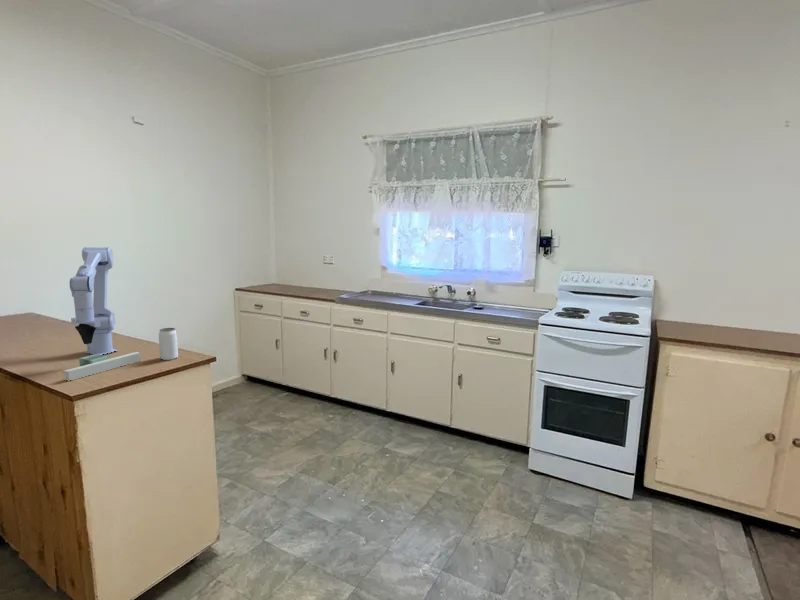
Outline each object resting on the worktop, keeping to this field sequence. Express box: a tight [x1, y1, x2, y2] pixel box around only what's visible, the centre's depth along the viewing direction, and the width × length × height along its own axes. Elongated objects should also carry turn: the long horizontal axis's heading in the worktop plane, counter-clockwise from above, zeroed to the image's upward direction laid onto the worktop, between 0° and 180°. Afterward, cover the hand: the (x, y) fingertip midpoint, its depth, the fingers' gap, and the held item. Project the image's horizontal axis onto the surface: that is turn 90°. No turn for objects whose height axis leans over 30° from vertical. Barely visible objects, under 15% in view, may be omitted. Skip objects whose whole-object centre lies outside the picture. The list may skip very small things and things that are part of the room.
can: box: [158, 327, 179, 361], centre depth 179 cm, size 6×6×12 cm
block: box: [78, 354, 110, 367], centre depth 166 cm, size 8×6×4 cm
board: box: [63, 351, 142, 381], centre depth 164 cm, size 2×26×4 cm, turn 155°
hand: (87, 343), depth 169 cm, fingers closed
